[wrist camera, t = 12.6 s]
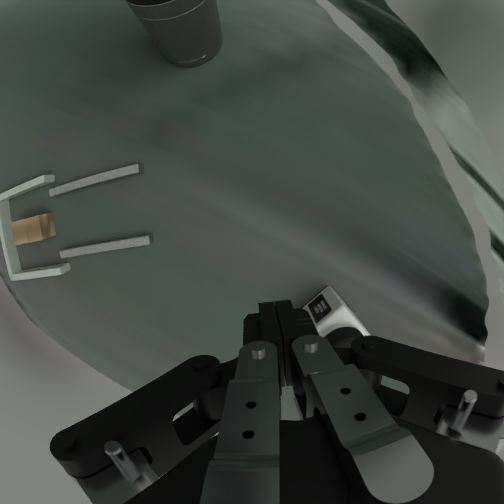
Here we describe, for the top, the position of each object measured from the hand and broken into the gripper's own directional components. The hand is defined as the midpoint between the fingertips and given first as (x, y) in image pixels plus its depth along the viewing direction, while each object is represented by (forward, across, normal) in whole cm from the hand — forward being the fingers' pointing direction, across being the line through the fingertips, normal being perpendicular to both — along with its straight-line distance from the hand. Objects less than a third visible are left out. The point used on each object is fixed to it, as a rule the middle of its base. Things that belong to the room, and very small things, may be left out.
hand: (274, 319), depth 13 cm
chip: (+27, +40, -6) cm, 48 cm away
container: (+27, -10, +15) cm, 32 cm away
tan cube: (+27, +36, -5) cm, 45 cm away
